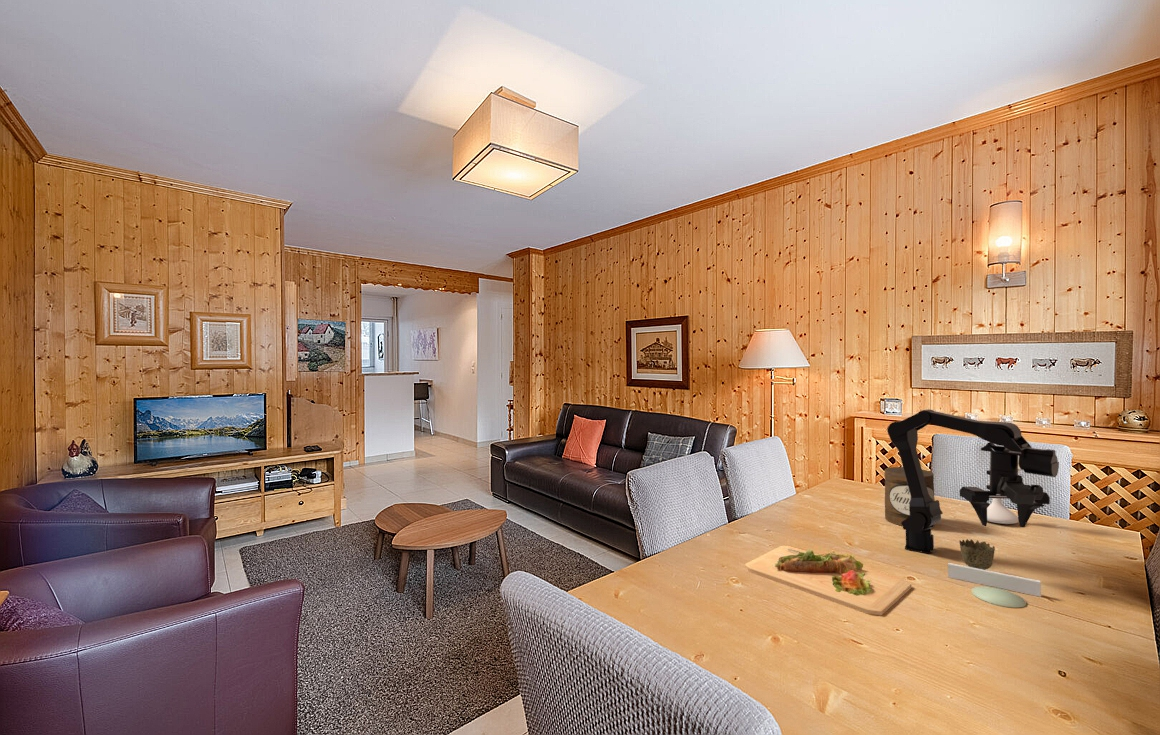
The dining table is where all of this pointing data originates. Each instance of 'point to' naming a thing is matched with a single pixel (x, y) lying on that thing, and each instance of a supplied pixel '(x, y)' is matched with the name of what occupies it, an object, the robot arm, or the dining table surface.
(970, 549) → the cup
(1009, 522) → the flower in vase
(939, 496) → the dining table surface
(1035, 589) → the acrylic wall
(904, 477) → the wooden container
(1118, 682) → the dining table surface
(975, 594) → the pad
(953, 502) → the dining table surface
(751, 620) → the dining table surface
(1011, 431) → the robot arm
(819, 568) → the cutting board
